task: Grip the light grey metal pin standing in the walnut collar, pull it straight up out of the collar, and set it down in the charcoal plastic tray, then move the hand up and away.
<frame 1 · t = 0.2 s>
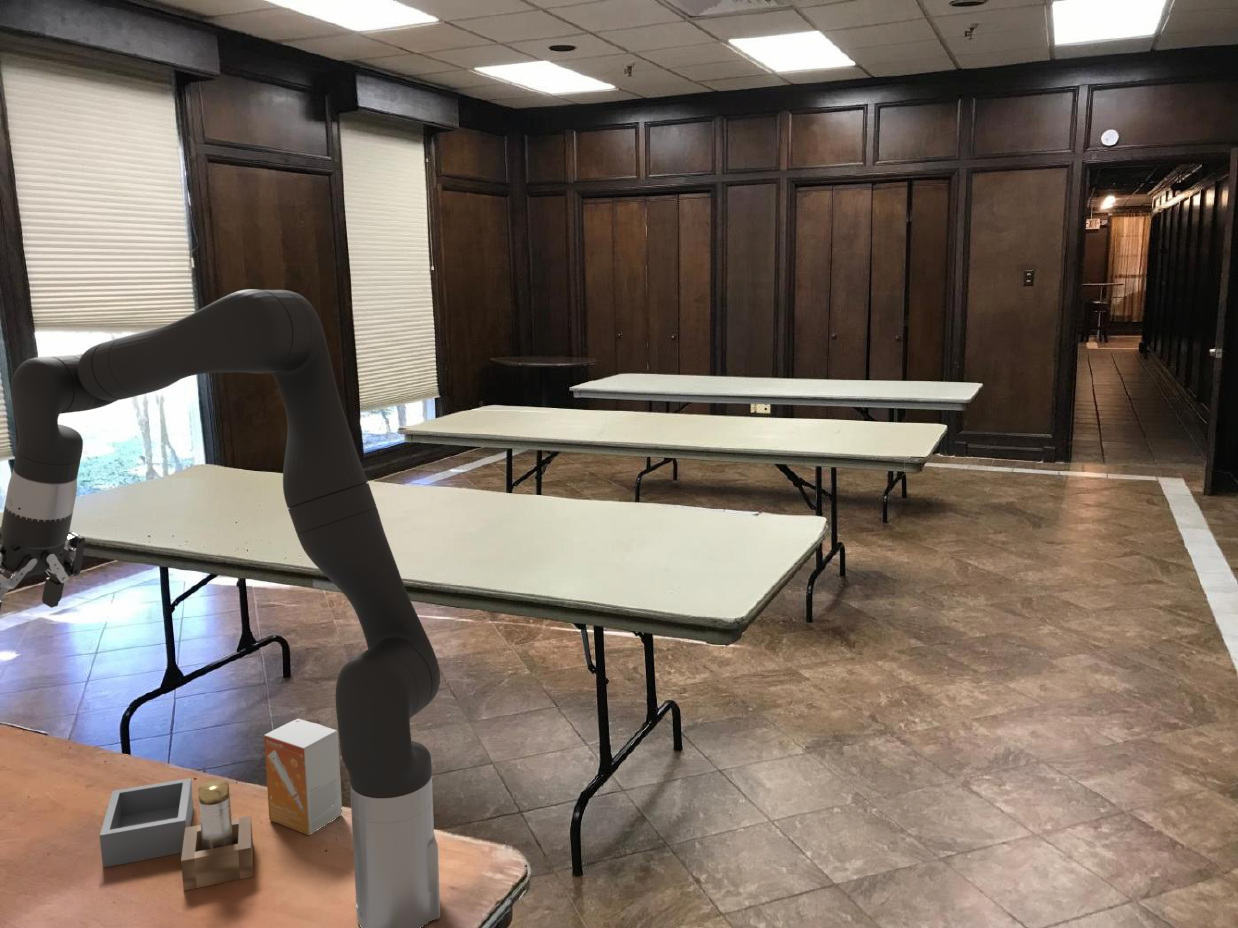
hand: (20, 613, 124), 31 cm above the table, tool tilted 20°, fingers open, 8 cm apart
tray: (150, 835, 128), on the table
small box: (306, 819, 132), on the table
collar: (219, 865, 121), on the table
pin: (216, 826, 120), in the collar
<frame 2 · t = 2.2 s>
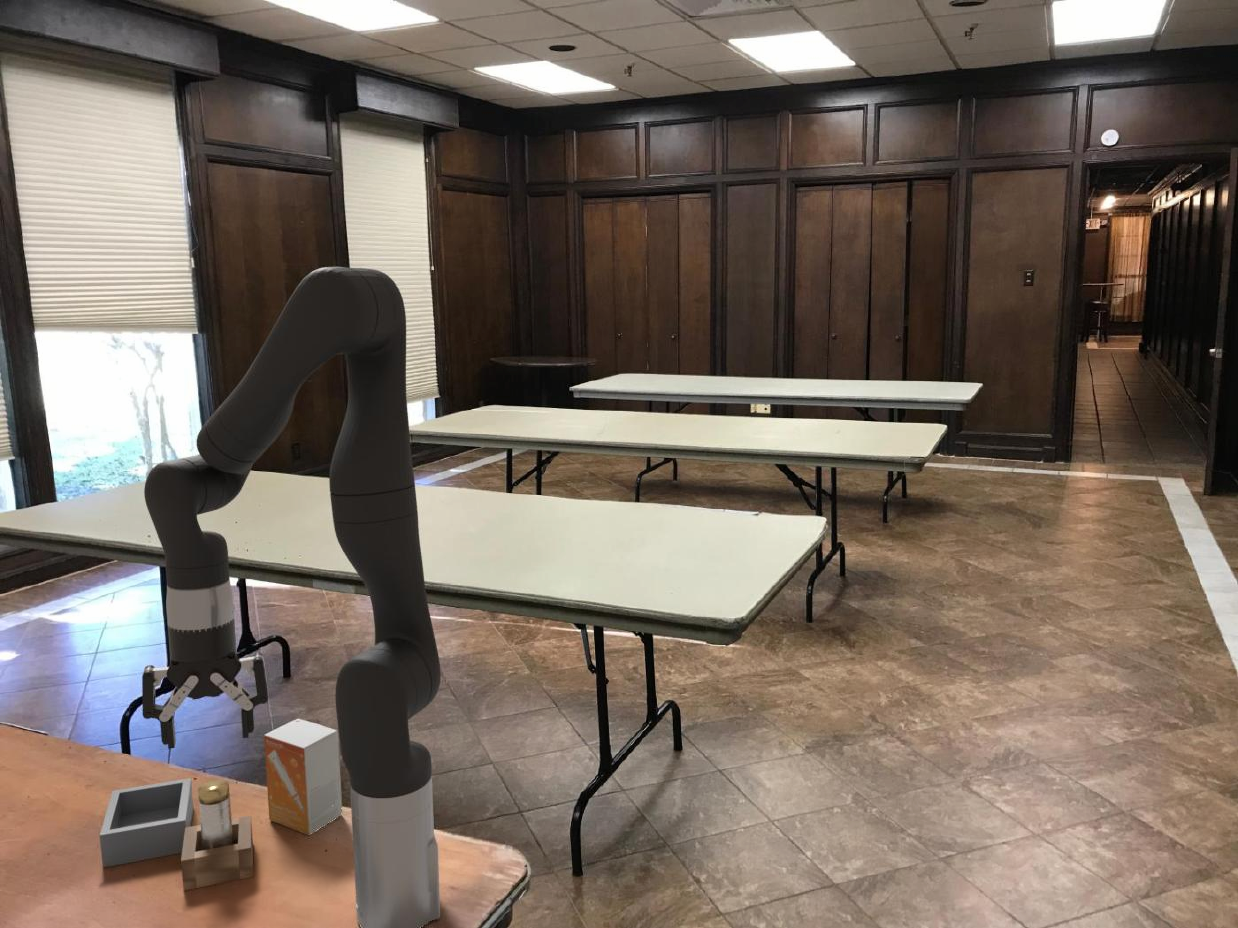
hand: (209, 740, 118), 17 cm above the table, tool pointing down, fingers open, 8 cm apart
nothing on the table moved.
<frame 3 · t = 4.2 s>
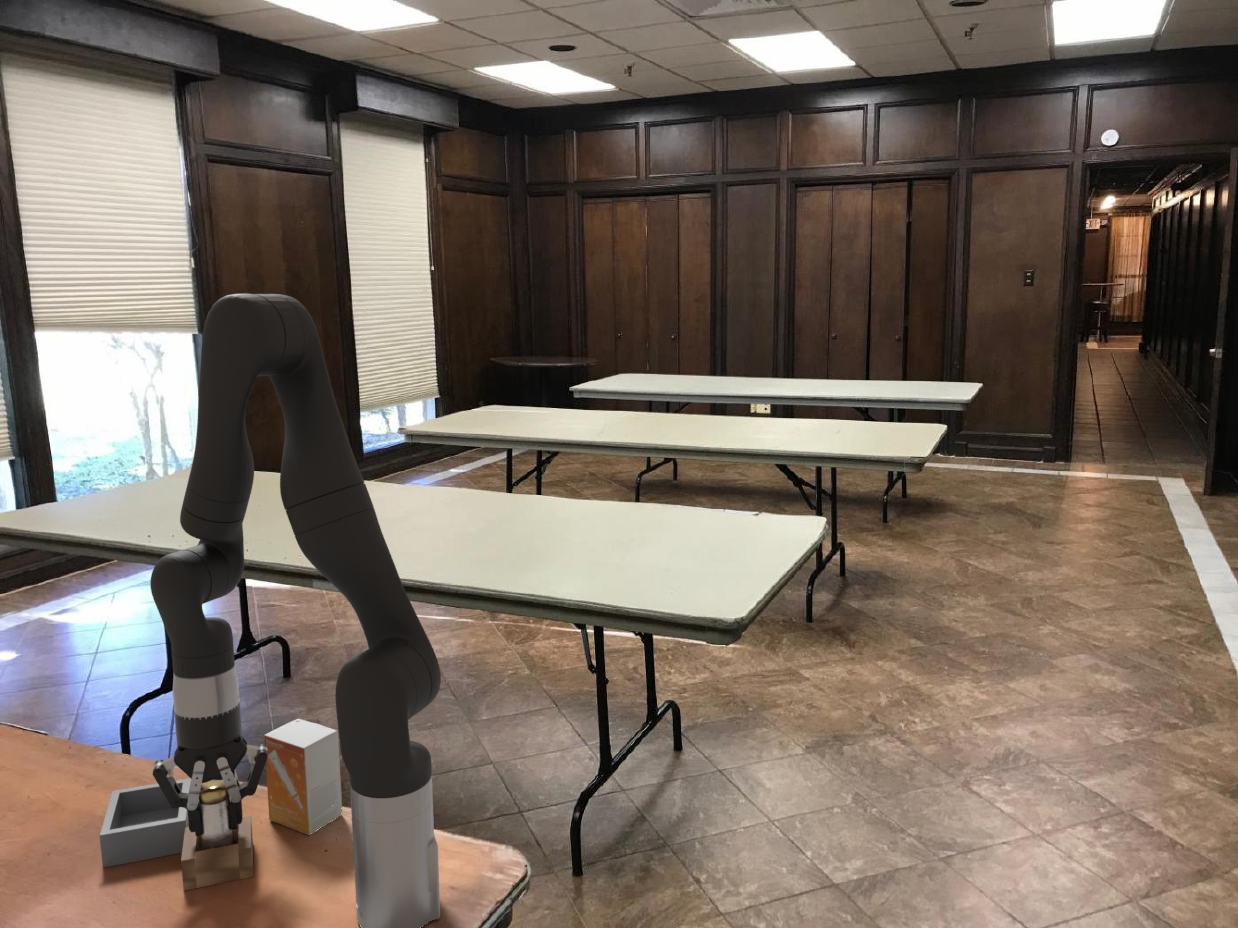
hand: (217, 828, 120), 5 cm above the table, tool pointing down, fingers closed on pin, 3 cm apart
pin: (216, 826, 120), in the collar, touching gripper
everything else where it was.
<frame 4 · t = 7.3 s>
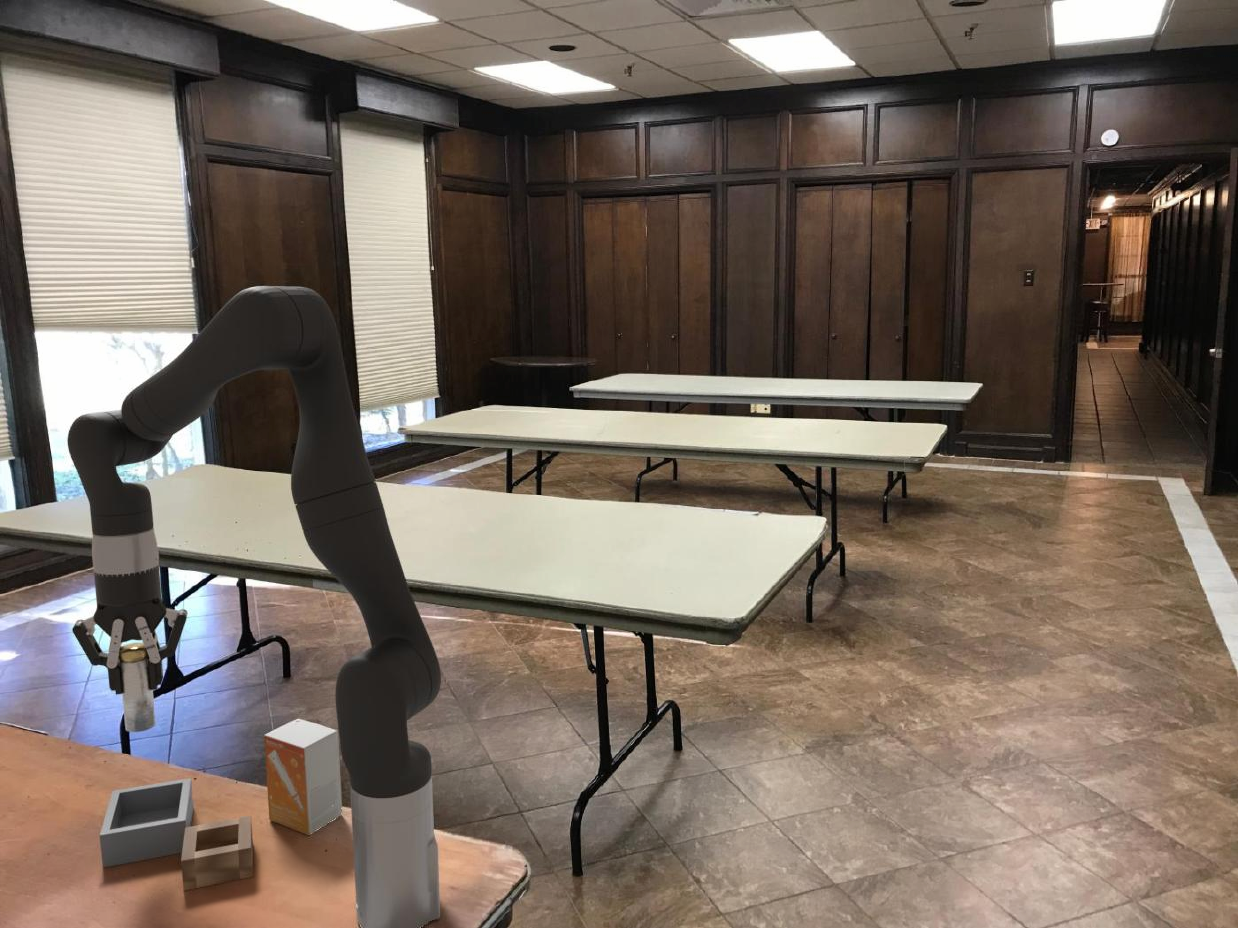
hand: (137, 689, 124), 21 cm above the table, tool pointing down, fingers closed on pin, 3 cm apart
pin: (137, 686, 124), point 21 cm above the table, touching gripper
everything else where it was.
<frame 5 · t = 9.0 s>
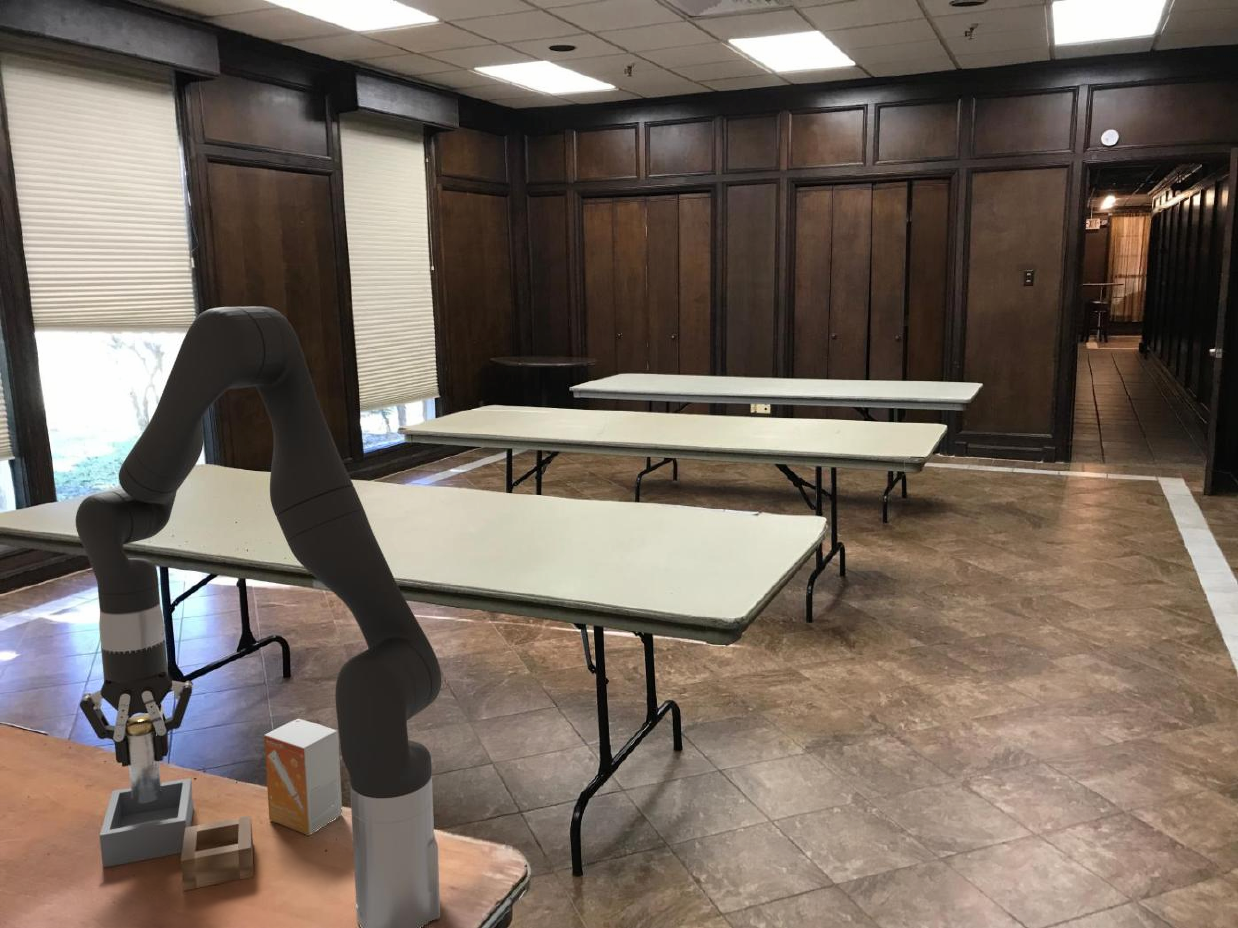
hand: (143, 760, 126), 11 cm above the table, tool pointing down, fingers closed on pin, 3 cm apart
pin: (143, 758, 126), point 11 cm above the table, touching gripper
everything else where it was.
when the fingers open (8 cm above the table, at t = 10.4 s): pin drops 1 cm, resting on tray.
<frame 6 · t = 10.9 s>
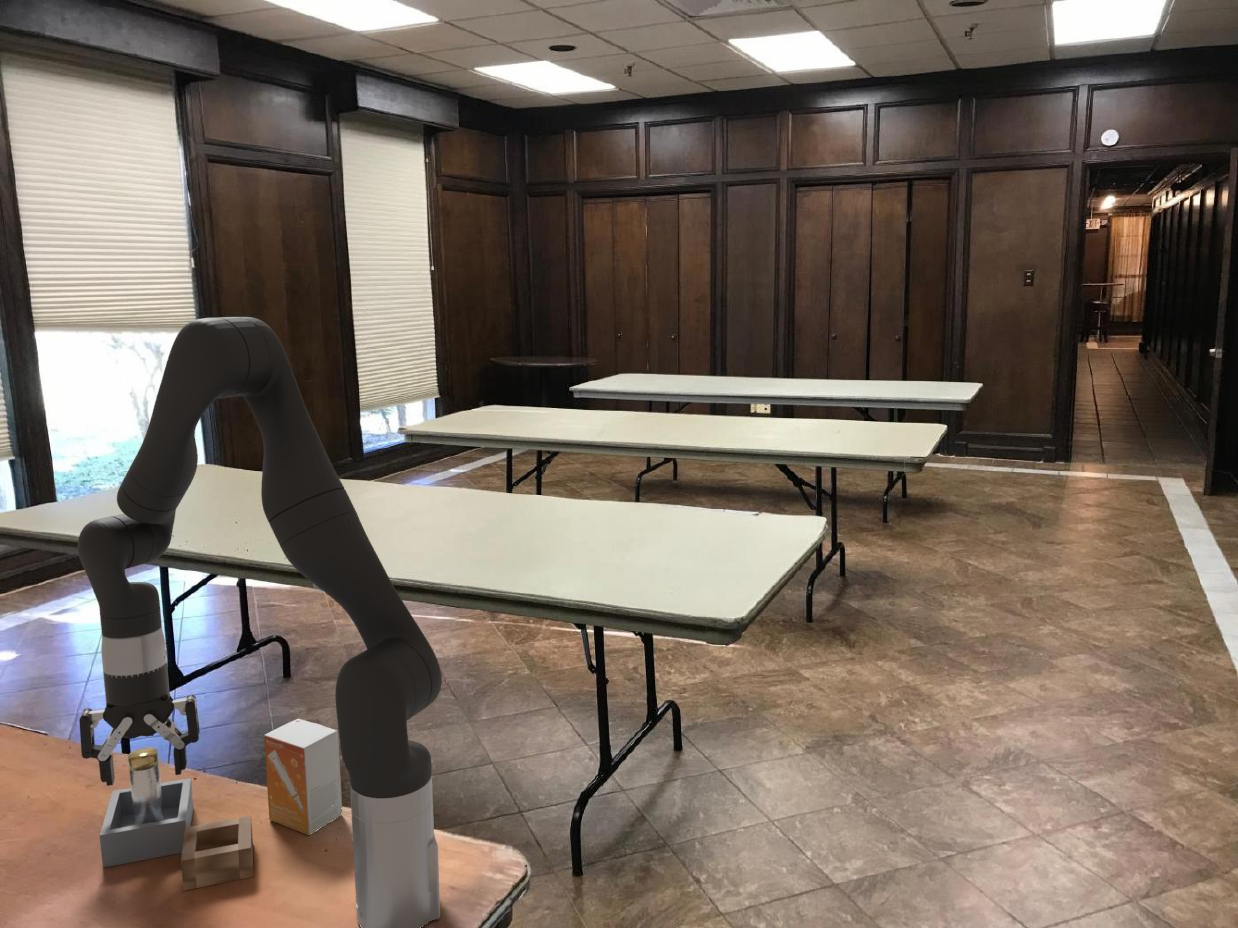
hand: (145, 777, 127), 9 cm above the table, tool pointing down, fingers open, 8 cm apart
pin: (146, 791, 127), in the tray, point 6 cm above the table
everything else where it was.
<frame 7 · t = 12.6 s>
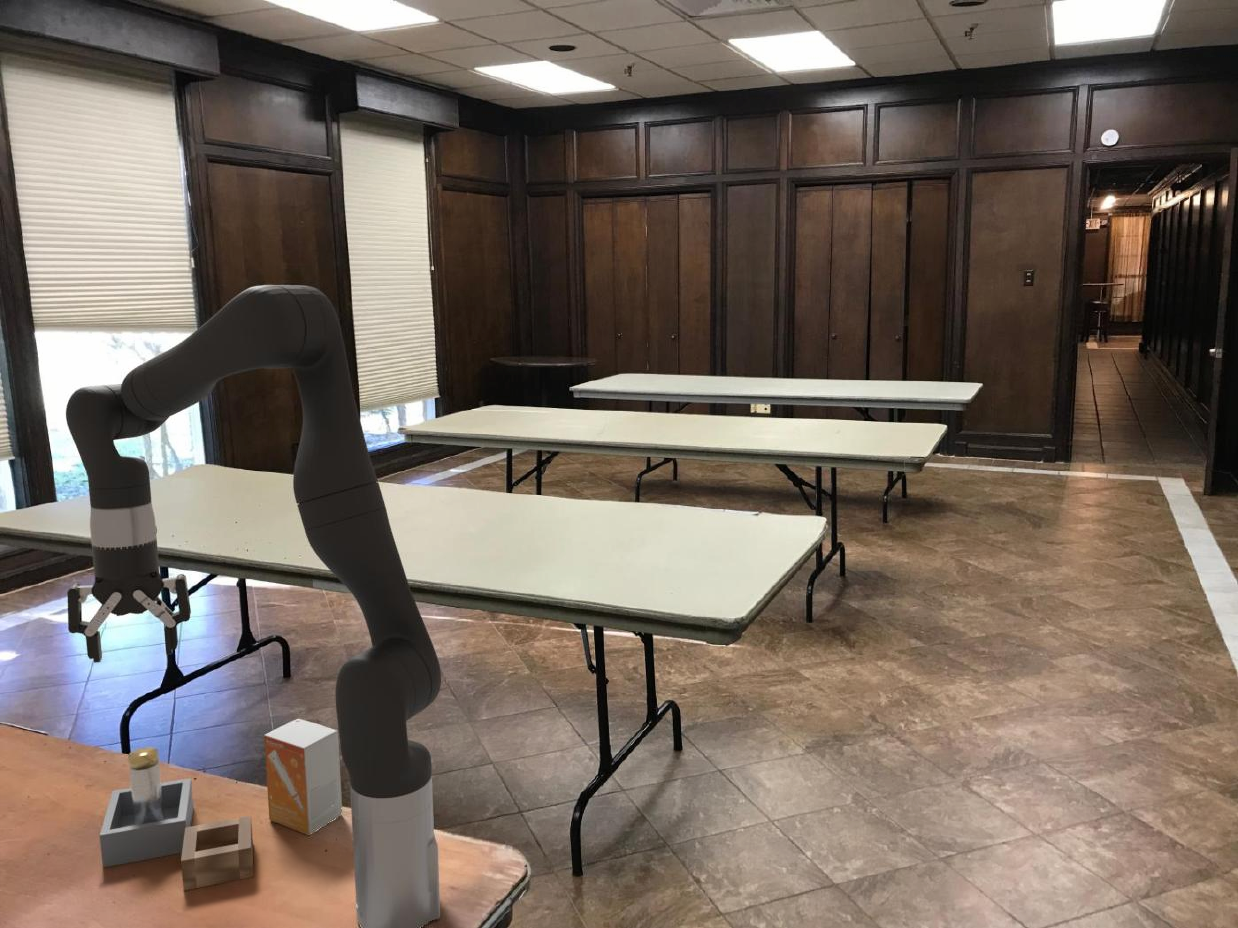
hand: (134, 656, 125), 25 cm above the table, tool pointing down, fingers open, 8 cm apart
nothing on the table moved.
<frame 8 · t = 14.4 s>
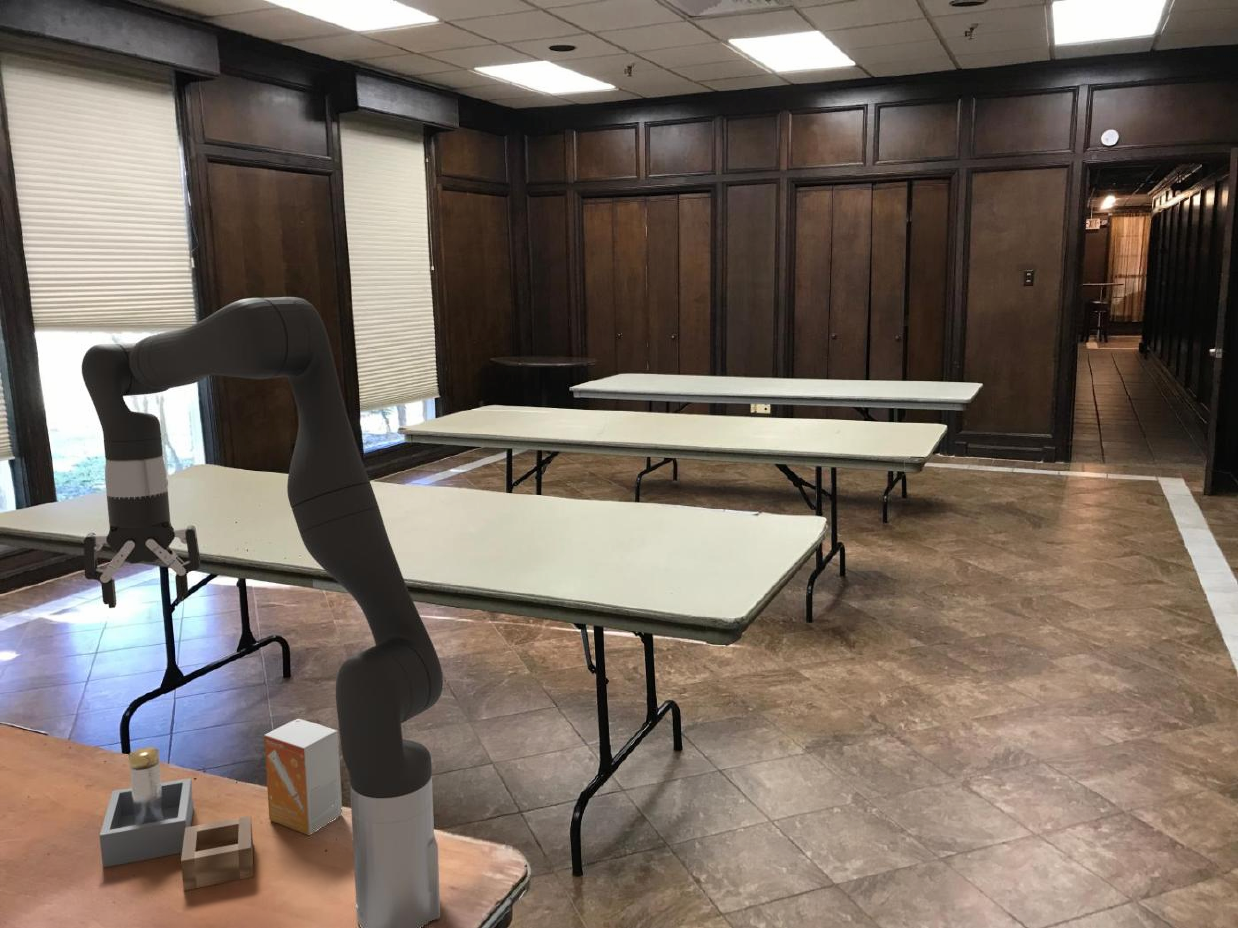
hand: (147, 603, 132), 30 cm above the table, tool pointing down, fingers open, 8 cm apart
nothing on the table moved.
at the end: pin inside the target area on the tray (0.0 cm from its centre), point 6.5 cm above the tray's base; pin moved 14.2 cm from its start; the gripper is holding nothing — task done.
